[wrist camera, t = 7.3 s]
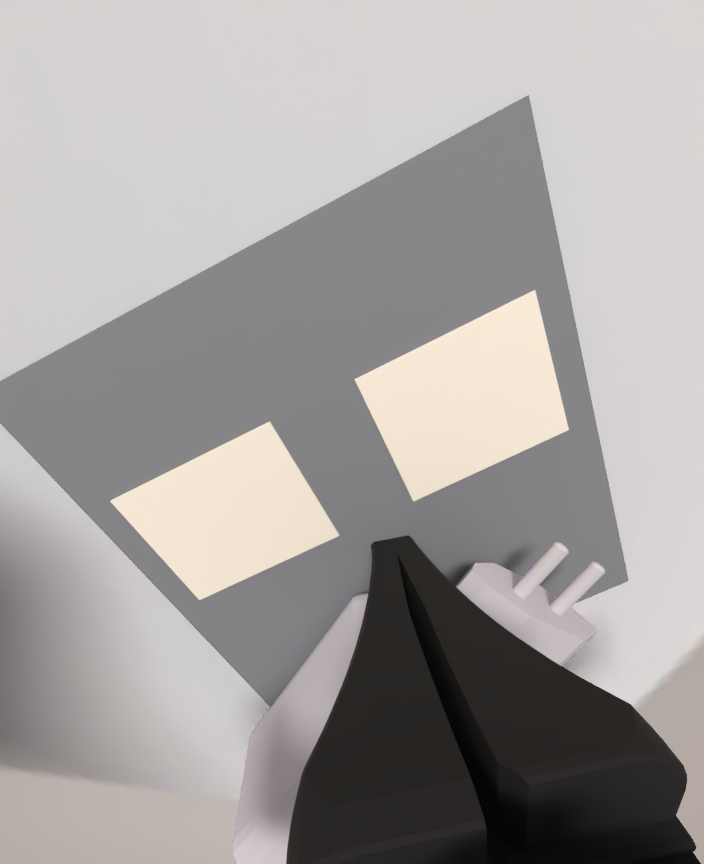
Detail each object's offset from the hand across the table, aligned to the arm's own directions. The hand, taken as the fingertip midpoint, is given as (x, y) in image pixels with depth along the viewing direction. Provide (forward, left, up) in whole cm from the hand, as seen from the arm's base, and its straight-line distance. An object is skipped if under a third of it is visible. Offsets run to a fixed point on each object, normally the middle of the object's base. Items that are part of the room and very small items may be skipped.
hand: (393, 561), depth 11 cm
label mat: (-2, 0, -1) cm, 2 cm away
